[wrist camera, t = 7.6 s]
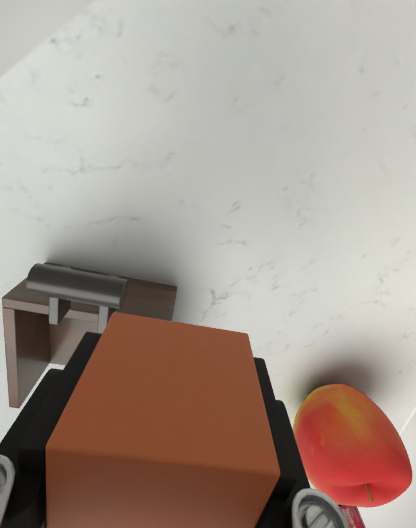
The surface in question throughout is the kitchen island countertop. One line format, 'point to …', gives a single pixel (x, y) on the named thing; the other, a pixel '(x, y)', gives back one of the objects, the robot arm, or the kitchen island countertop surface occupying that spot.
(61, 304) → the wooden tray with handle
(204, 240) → the kitchen island countertop surface
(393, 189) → the kitchen island countertop surface
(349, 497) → the apple
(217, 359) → the block
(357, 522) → the ink box
